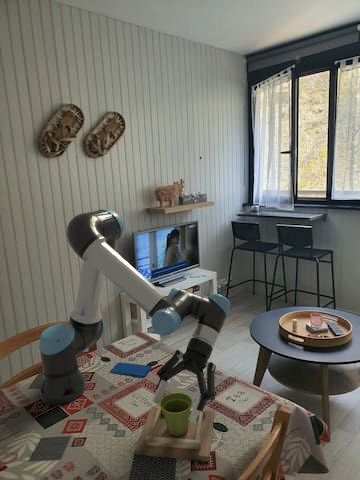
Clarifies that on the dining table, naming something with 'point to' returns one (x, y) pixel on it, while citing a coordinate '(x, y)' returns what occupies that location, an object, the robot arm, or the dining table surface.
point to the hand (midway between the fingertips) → (172, 412)
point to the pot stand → (176, 437)
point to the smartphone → (131, 369)
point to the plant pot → (176, 412)
